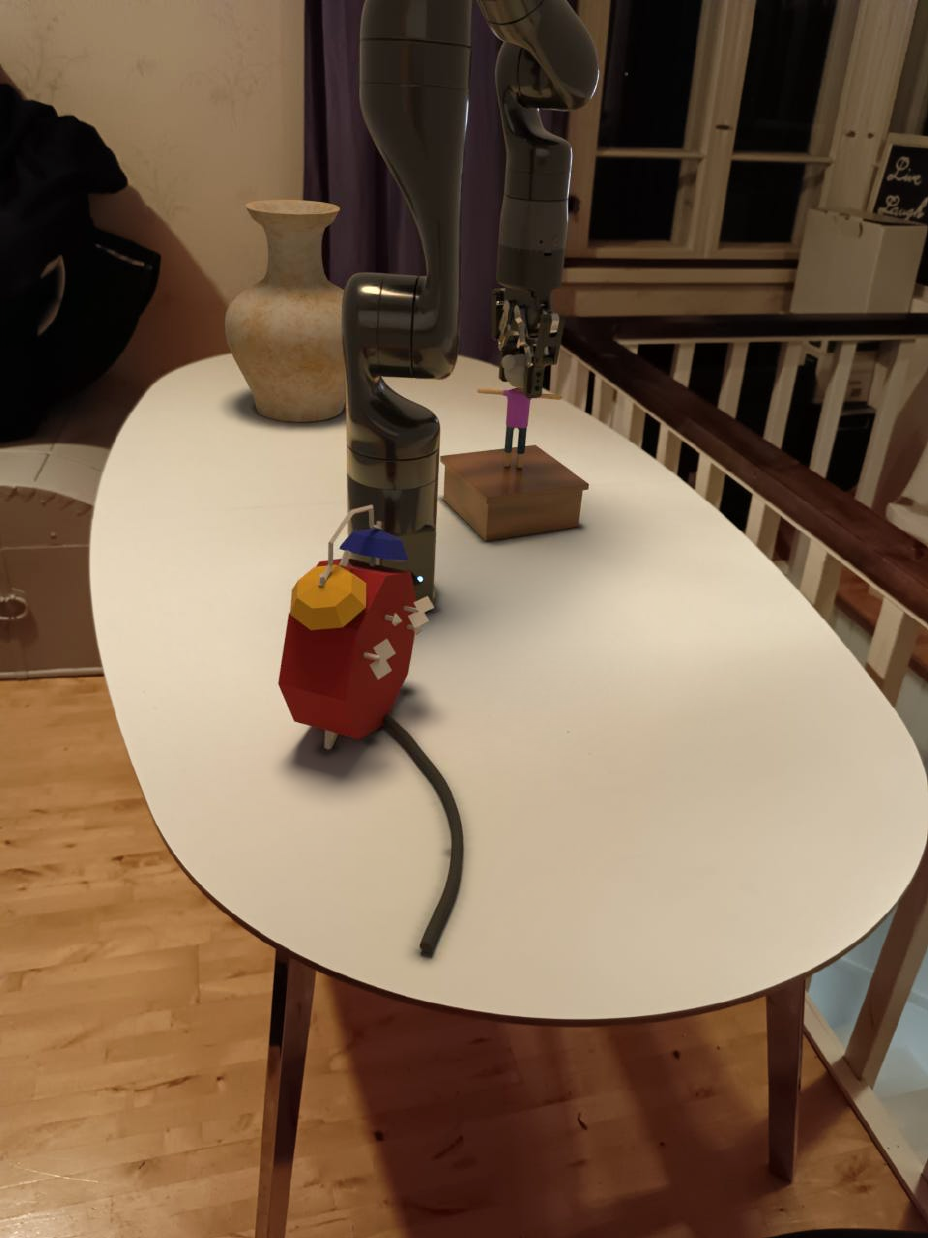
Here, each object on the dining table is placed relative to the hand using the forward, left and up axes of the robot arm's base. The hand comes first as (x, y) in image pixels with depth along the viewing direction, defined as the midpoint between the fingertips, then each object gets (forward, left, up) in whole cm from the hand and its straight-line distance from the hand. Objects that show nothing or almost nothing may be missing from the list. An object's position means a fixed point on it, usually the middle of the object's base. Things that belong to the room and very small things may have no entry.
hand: (519, 388), depth 115 cm
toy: (0, 0, -11) cm, 11 cm away
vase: (+47, +14, -17) cm, 52 cm away
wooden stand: (0, 0, -16) cm, 16 cm away
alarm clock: (-35, +32, -17) cm, 50 cm away
